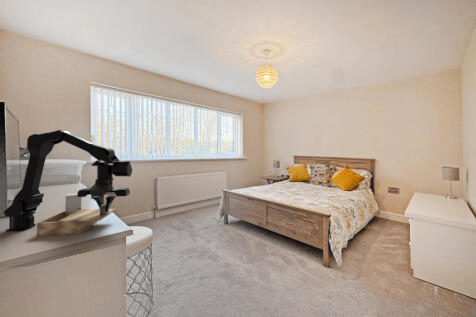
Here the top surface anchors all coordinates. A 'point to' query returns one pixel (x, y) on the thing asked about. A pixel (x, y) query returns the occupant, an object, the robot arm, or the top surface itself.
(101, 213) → the lid
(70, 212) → the brown piece
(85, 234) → the top surface
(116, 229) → the top surface
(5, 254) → the top surface
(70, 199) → the skincare box
